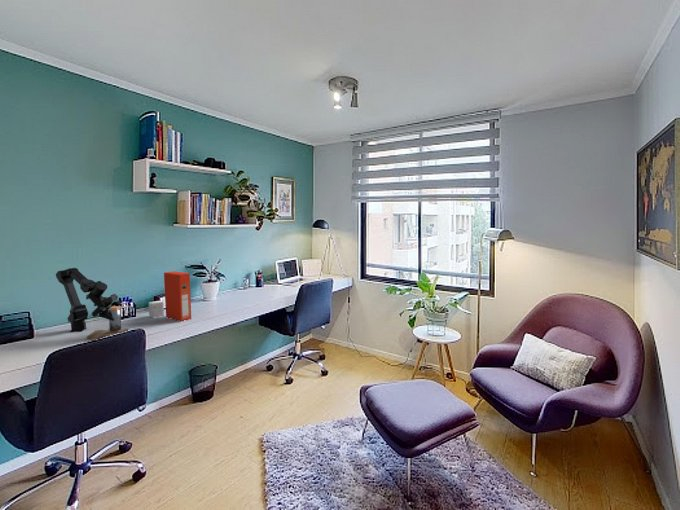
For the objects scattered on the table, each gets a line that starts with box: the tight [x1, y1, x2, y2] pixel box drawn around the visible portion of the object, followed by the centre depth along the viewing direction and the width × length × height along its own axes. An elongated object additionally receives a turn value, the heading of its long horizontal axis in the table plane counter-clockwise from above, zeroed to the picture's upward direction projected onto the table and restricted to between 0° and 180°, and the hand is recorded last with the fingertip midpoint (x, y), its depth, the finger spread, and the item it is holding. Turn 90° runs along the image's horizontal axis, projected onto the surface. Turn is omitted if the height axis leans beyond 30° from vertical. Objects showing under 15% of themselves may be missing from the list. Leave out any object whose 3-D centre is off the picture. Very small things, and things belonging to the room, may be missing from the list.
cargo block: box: [108, 305, 121, 312], centre depth 212 cm, size 4×4×2 cm
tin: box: [108, 308, 122, 331], centre depth 213 cm, size 6×6×12 cm
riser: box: [86, 328, 130, 340], centre depth 213 cm, size 18×11×2 cm, turn 102°
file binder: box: [163, 270, 192, 322], centre depth 249 cm, size 8×17×32 cm, turn 58°
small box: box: [148, 300, 165, 319], centre depth 254 cm, size 8×6×10 cm
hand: (117, 318), depth 213 cm, fingers closed on tin, 6 cm apart
